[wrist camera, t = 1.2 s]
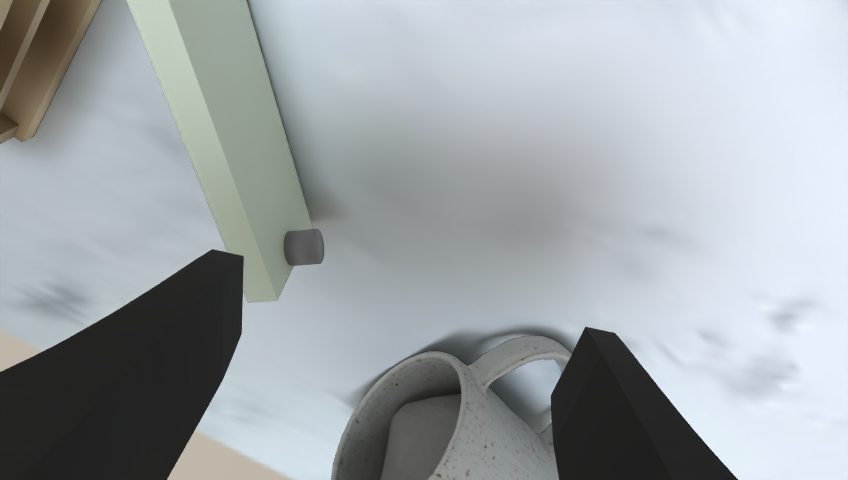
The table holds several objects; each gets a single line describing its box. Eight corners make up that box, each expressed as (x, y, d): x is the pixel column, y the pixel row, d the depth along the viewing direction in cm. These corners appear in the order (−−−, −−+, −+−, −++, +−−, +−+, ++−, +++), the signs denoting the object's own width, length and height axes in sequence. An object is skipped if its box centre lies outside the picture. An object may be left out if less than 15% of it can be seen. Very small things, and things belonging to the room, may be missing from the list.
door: (336, 224, 21) (307, 298, 17) (287, 228, 21) (247, 302, 17) (255, -87, 15) (184, -82, 11) (190, -76, 16) (99, -68, 12)
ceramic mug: (452, 475, 29) (451, 637, 23) (344, 395, 27) (307, 554, 20) (622, 390, 25) (679, 557, 19) (515, 283, 22) (540, 438, 16)
